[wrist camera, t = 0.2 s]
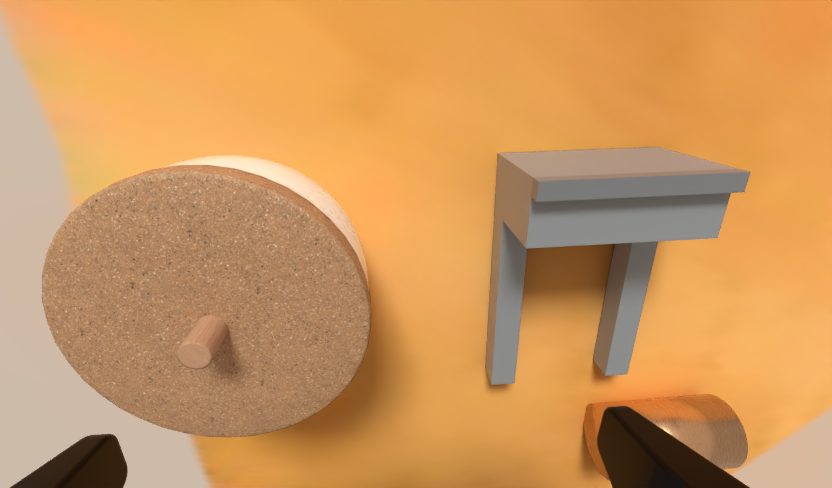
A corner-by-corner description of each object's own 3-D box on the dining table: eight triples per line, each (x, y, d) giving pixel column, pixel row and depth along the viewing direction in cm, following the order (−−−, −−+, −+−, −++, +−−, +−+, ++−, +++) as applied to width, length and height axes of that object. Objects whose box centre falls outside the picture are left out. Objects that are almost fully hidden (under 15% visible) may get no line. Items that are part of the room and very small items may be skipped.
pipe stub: (704, 379, 28) (758, 437, 24) (685, 424, 30) (732, 483, 26) (590, 388, 27) (626, 449, 23) (579, 433, 29) (610, 495, 25)
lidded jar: (258, 82, 18) (152, 93, 10) (414, 245, 22) (438, 358, 13) (111, 232, 20) (-86, 353, 12) (276, 358, 24) (220, 519, 15)
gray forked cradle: (614, 358, 26) (671, 428, 21) (485, 368, 26) (512, 442, 20) (658, 146, 21) (750, 172, 16) (497, 153, 20) (538, 181, 15)
